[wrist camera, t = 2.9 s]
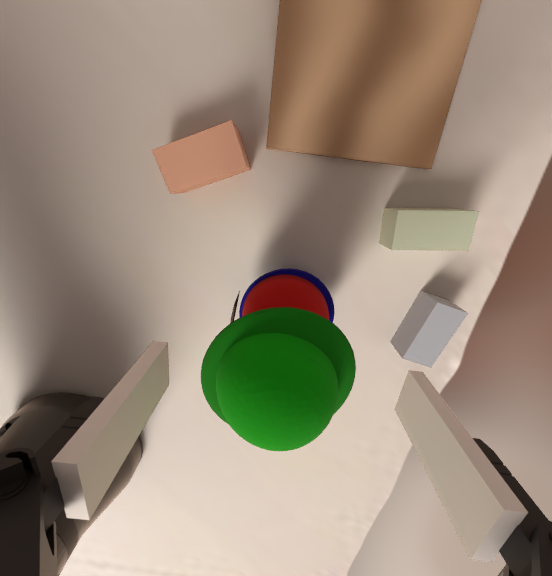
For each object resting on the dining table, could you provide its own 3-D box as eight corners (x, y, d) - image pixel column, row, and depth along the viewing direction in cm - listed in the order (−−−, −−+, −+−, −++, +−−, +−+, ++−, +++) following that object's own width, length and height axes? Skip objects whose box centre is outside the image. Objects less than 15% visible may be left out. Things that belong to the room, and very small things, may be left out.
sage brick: (378, 242, 24) (391, 249, 21) (383, 207, 23) (398, 210, 20) (445, 243, 24) (468, 250, 21) (454, 208, 22) (479, 211, 20)
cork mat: (266, 148, 21) (266, 147, 20) (288, -87, 16) (288, -97, 16) (427, 169, 21) (431, 168, 21) (492, -56, 17) (500, -64, 16)
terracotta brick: (184, 192, 22) (170, 193, 19) (168, 155, 21) (151, 150, 18) (250, 169, 22) (246, 166, 19) (238, 129, 21) (231, 119, 18)
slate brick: (415, 349, 27) (430, 367, 25) (389, 340, 27) (402, 358, 24) (447, 299, 25) (468, 313, 23) (419, 289, 25) (437, 302, 22)
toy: (291, 353, 28) (304, 523, 14) (218, 314, 26) (146, 461, 12) (343, 283, 25) (426, 408, 11) (264, 235, 23) (241, 307, 9)
